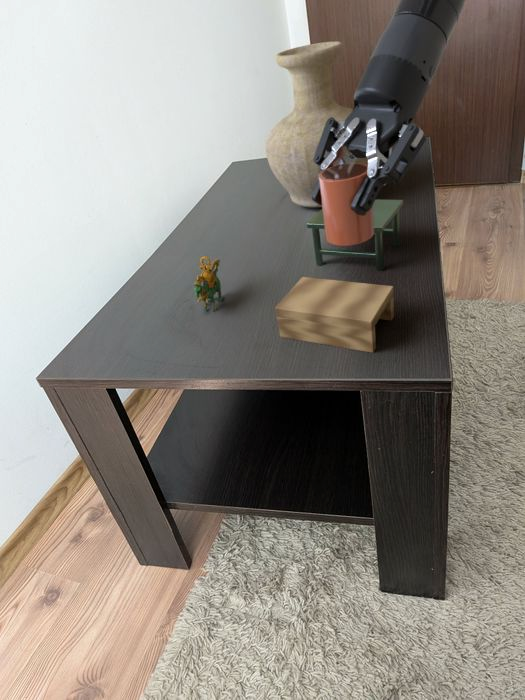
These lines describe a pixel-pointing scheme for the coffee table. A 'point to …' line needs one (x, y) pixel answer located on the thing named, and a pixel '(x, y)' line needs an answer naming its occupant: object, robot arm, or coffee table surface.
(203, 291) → the figurine
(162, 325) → the coffee table surface
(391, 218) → the green miniature table
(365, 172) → the cup
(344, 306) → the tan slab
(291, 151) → the vase
